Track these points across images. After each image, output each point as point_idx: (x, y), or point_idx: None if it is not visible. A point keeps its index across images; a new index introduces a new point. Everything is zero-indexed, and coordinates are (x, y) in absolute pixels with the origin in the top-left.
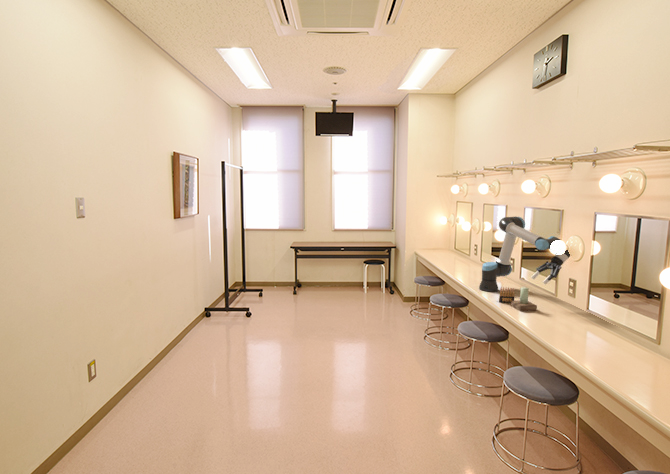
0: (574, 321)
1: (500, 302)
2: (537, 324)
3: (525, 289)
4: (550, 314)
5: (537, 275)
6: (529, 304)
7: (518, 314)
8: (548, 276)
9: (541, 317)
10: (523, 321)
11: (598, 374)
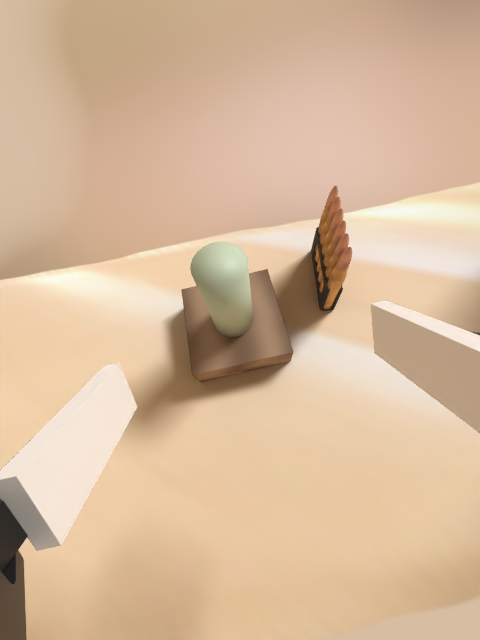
0: None
1: (311, 252)
2: (34, 321)
3: (191, 265)
4: (146, 437)
5: (432, 389)
6: (209, 339)
7: (149, 286)
8: (28, 447)
9: None
10: (72, 282)
11: None
